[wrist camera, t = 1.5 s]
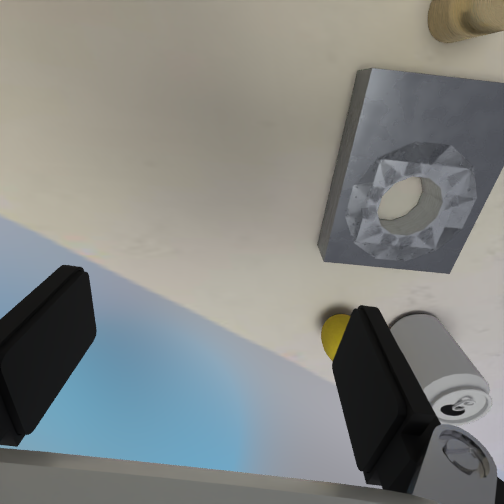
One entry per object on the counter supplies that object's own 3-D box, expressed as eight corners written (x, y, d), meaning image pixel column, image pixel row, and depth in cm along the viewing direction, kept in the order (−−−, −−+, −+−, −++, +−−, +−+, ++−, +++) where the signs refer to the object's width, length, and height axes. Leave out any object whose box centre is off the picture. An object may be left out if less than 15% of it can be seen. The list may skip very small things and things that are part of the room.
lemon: (321, 336, 43) (333, 384, 36) (312, 307, 40) (323, 353, 34) (360, 327, 42) (380, 375, 35) (353, 297, 40) (373, 343, 33)
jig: (357, 70, 27) (372, 68, 24) (506, 87, 27) (542, 87, 24) (317, 244, 36) (323, 261, 32) (431, 255, 36) (449, 273, 33)
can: (374, 340, 43) (411, 422, 33) (404, 303, 40) (456, 380, 29) (418, 354, 44) (467, 437, 34) (451, 319, 41) (517, 398, 30)
